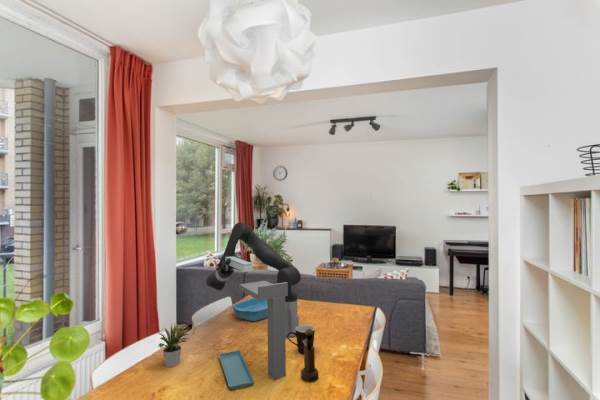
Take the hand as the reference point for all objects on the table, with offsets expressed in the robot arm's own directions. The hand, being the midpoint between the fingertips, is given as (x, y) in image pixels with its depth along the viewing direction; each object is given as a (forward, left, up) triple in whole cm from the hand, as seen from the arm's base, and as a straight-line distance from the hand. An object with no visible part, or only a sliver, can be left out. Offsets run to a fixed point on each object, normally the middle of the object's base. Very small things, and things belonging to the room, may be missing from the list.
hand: (234, 259), depth 155 cm
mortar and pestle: (-24, +43, -39) cm, 63 cm away
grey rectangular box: (-1, +4, -3) cm, 6 cm away
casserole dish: (-19, -36, -39) cm, 56 cm away
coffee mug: (-28, +21, -39) cm, 52 cm away
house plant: (+27, +17, -39) cm, 51 cm away
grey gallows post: (-8, +30, -39) cm, 50 cm away
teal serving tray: (+3, +29, -40) cm, 49 cm away
